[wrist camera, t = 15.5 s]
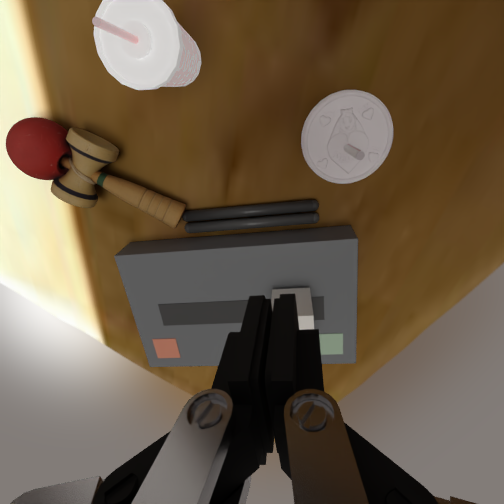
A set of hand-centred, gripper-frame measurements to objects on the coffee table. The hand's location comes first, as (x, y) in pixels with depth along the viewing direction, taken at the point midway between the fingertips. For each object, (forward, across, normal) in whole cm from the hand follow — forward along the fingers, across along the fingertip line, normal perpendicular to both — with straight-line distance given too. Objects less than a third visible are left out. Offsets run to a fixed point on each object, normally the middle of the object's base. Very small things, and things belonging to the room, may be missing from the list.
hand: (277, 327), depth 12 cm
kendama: (+24, +20, -3) cm, 31 cm away
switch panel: (+24, +7, +12) cm, 28 cm away
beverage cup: (+24, +10, -13) cm, 29 cm away
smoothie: (+25, -4, -4) cm, 26 cm away
